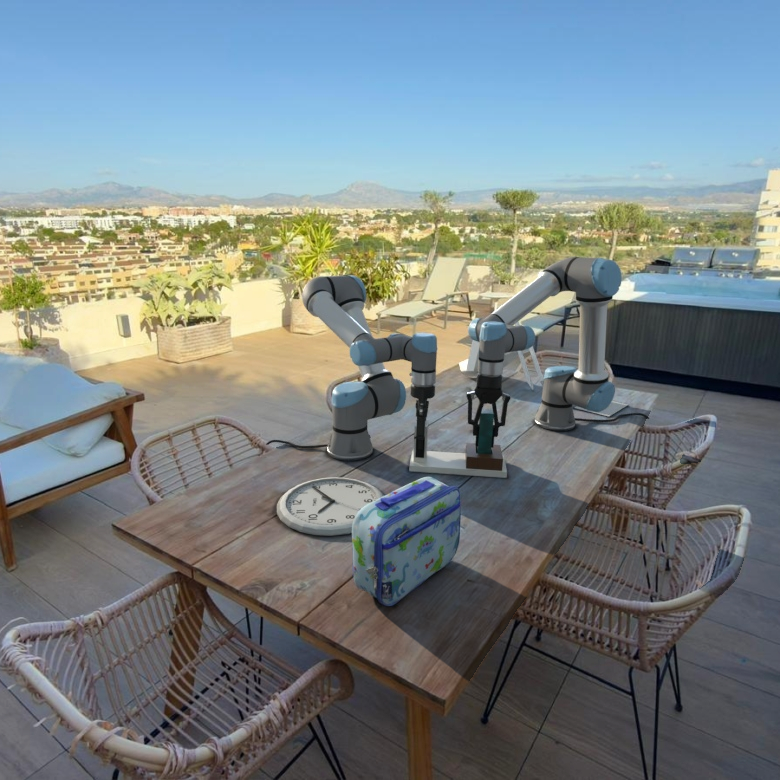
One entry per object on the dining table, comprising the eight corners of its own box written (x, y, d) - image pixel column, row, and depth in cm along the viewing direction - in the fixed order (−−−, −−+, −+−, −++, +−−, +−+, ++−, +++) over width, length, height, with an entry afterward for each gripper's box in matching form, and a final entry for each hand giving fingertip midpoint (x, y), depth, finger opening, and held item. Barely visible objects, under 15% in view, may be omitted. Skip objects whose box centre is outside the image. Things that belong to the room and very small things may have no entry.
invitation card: (608, 416, 214) (573, 407, 224) (608, 416, 214) (573, 408, 224) (628, 404, 229) (594, 396, 238) (628, 405, 229) (594, 397, 238)
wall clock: (392, 527, 129) (268, 531, 127) (391, 533, 130) (269, 537, 127) (383, 473, 158) (282, 475, 155) (383, 478, 158) (282, 480, 156)
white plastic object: (480, 418, 266) (459, 395, 242) (461, 346, 288) (441, 318, 264) (550, 394, 254) (536, 368, 229) (526, 321, 276) (510, 289, 251)
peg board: (503, 461, 172) (506, 421, 167) (506, 477, 160) (510, 435, 156) (412, 455, 175) (413, 416, 171) (409, 471, 164) (410, 429, 159)
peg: (489, 450, 167) (493, 409, 163) (490, 456, 163) (494, 413, 159) (477, 450, 167) (480, 408, 163) (477, 455, 163) (480, 413, 159)
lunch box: (381, 619, 101) (382, 525, 95) (345, 592, 109) (344, 503, 102) (464, 563, 119) (469, 480, 113) (428, 543, 126) (432, 464, 120)
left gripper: (413, 375, 170) (411, 440, 177) (408, 392, 152) (406, 464, 159) (436, 376, 169) (433, 442, 176) (434, 393, 151) (430, 466, 158)
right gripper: (517, 371, 160) (510, 442, 167) (461, 369, 162) (457, 439, 169) (520, 378, 153) (513, 452, 160) (461, 375, 155) (457, 448, 162)
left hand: (420, 452), depth 168 cm, fingers closed on peg board, 6 cm apart
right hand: (484, 445), depth 164 cm, fingers closed on peg, 4 cm apart
